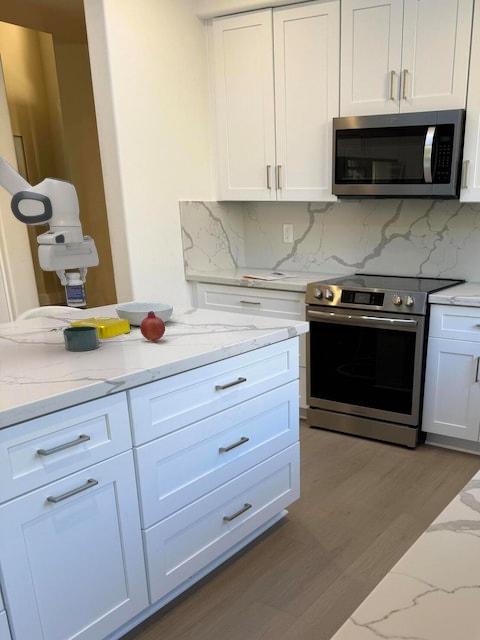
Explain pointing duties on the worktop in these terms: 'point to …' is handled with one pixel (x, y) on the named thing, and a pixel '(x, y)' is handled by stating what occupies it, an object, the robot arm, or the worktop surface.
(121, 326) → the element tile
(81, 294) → the pill bottle
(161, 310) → the serving bowl
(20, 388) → the worktop surface
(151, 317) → the fruit
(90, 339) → the dark teal round container
